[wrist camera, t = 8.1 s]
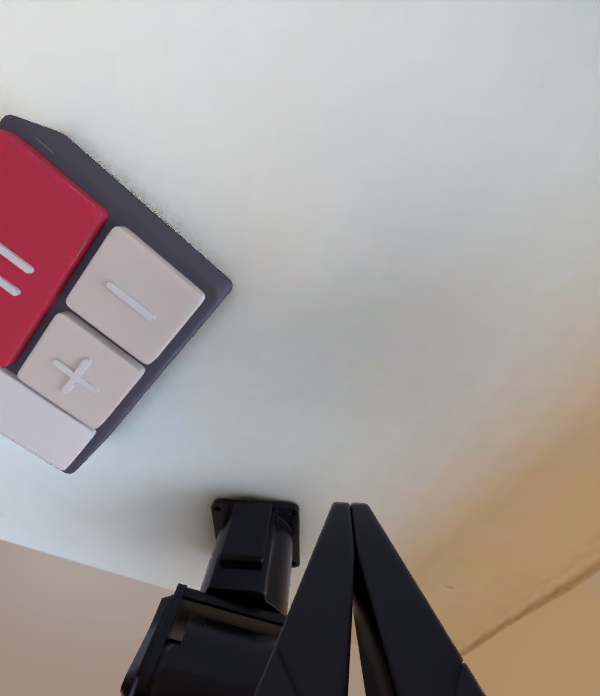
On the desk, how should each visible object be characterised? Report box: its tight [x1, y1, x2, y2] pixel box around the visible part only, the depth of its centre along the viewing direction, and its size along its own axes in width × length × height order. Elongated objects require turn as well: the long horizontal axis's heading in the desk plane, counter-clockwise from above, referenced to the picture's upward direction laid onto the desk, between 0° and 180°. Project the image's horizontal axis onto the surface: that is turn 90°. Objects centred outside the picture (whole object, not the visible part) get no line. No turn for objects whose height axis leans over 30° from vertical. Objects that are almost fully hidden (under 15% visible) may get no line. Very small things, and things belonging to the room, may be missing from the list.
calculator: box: [0, 115, 232, 474], centre depth 18 cm, size 11×4×15 cm
